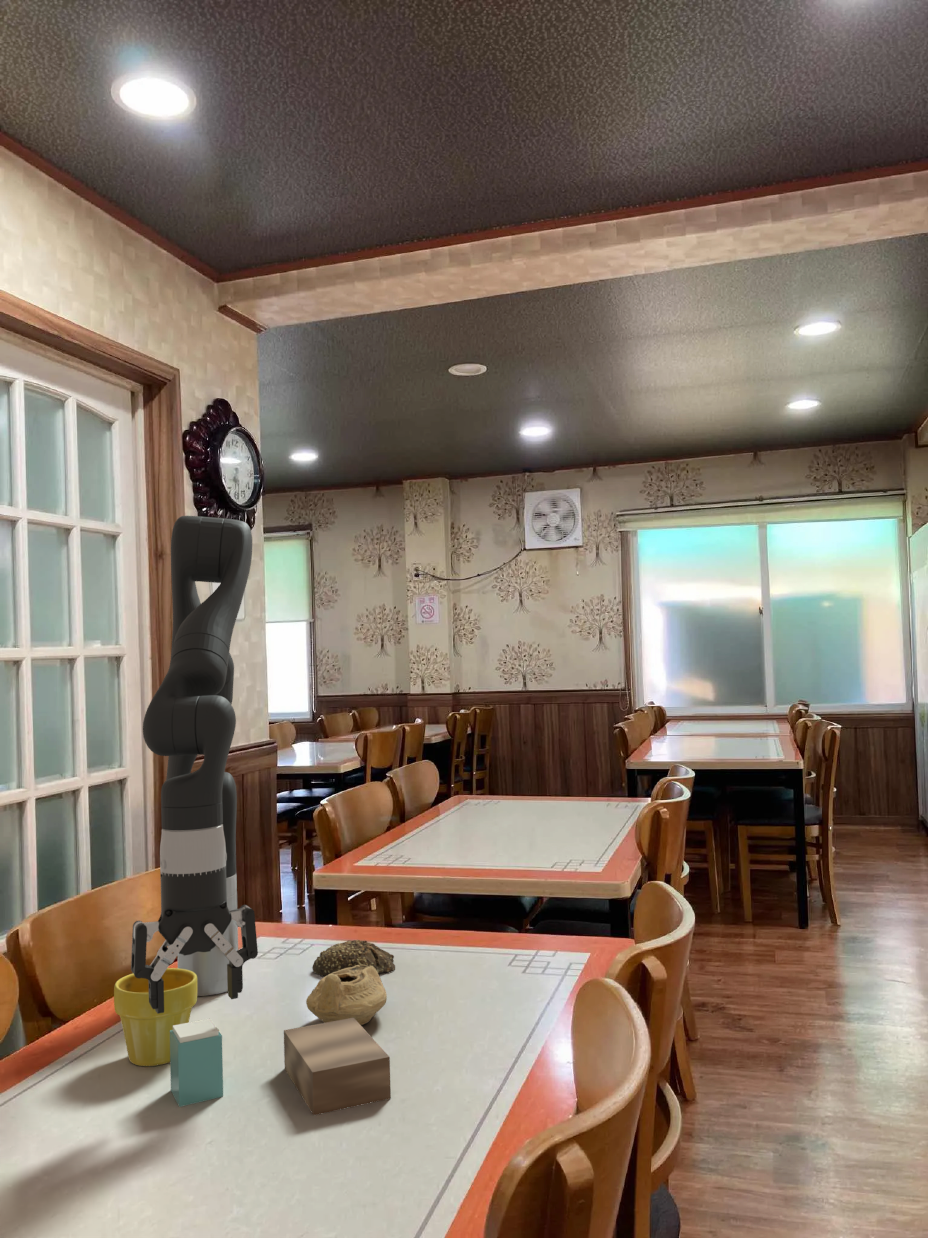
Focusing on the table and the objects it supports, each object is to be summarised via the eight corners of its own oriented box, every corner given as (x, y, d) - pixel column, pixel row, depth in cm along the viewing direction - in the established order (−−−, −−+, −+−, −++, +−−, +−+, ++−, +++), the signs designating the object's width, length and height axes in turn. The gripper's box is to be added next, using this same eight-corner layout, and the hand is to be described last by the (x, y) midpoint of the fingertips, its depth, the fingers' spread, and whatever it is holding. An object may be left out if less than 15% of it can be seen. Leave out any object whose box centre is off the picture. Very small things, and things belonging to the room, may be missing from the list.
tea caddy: (170, 1090, 116) (169, 1025, 116) (213, 1081, 118) (211, 1017, 118) (179, 1107, 111) (177, 1039, 112) (223, 1097, 114) (221, 1030, 114)
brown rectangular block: (284, 1071, 121) (283, 1030, 121) (354, 1057, 125) (353, 1017, 125) (313, 1118, 108) (312, 1072, 108) (390, 1101, 112) (389, 1057, 112)
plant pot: (214, 1045, 129) (213, 970, 130) (166, 1077, 120) (165, 996, 120) (149, 1037, 133) (147, 964, 133) (97, 1068, 123) (95, 989, 123)
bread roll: (302, 975, 159) (301, 944, 159) (352, 954, 169) (352, 925, 169) (362, 987, 152) (361, 955, 152) (411, 965, 162) (410, 935, 162)
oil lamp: (396, 1000, 144) (395, 945, 145) (379, 1040, 129) (377, 978, 130) (323, 1001, 145) (322, 946, 146) (297, 1040, 130) (296, 979, 131)
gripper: (244, 853, 123) (247, 985, 122) (125, 867, 116) (128, 1007, 115) (261, 862, 116) (265, 1002, 115) (136, 878, 109) (139, 1026, 108)
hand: (196, 1004), depth 115 cm, fingers open, 8 cm apart
